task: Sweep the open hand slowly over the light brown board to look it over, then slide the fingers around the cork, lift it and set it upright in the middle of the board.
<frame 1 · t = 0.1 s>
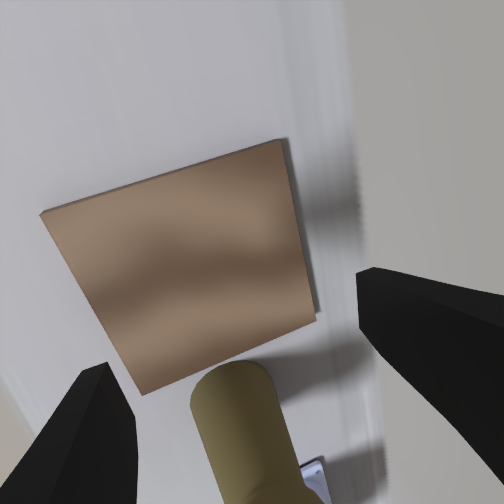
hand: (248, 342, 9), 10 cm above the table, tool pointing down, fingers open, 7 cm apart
light brown board: (203, 272, 19), on the table
cork: (231, 393, 23), on the table
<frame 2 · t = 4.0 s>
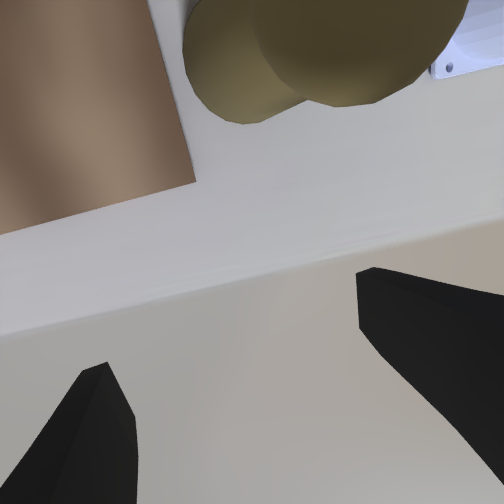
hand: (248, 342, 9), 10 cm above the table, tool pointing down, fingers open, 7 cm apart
light brown board: (14, 75, 13), on the table
cork: (243, 59, 16), on the table
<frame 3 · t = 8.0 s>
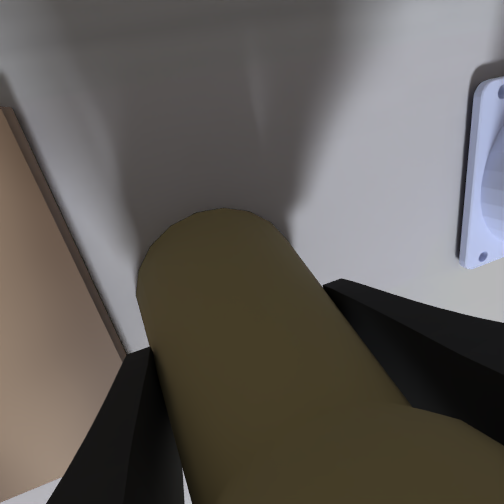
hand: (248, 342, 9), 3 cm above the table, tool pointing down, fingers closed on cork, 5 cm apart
cork: (220, 285, 12), on the table, touching gripper
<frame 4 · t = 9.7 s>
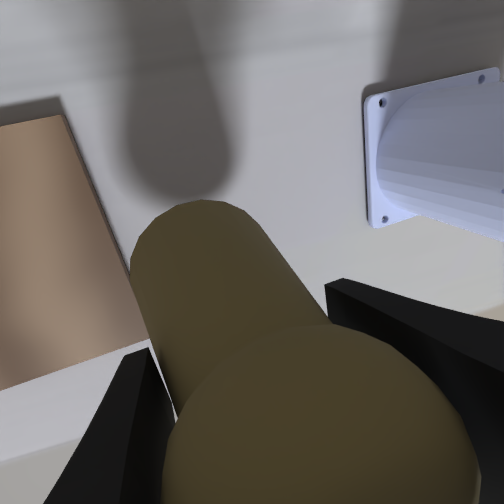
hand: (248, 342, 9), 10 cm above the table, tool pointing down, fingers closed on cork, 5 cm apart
cork: (204, 268, 14), point 5 cm above the table, touching gripper
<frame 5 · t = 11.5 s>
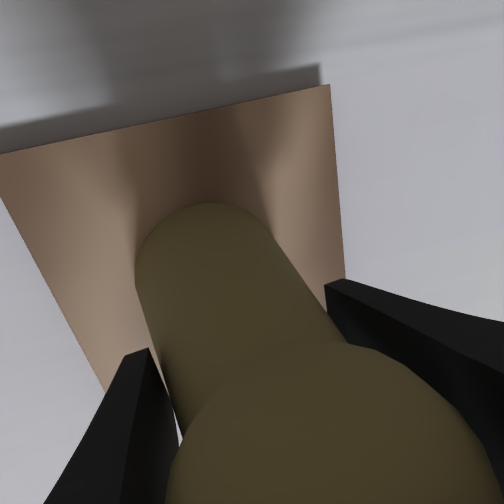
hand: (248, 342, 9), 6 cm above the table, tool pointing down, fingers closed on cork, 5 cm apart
light brown board: (211, 262, 14), on the table
cork: (210, 271, 14), point 1 cm above the table, touching gripper, light brown board
when the fingers open (5 cm above the table, at t = 12.2 s): cork stays where it is, resting on light brown board.
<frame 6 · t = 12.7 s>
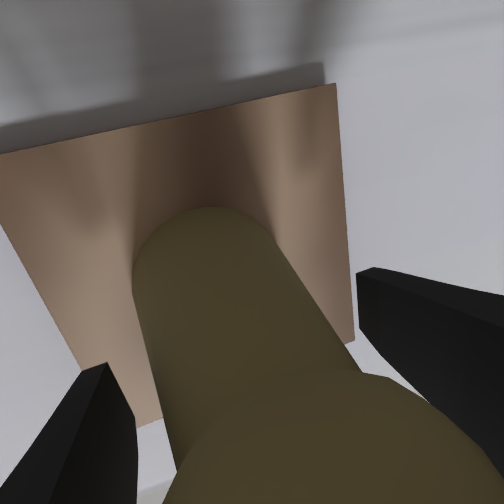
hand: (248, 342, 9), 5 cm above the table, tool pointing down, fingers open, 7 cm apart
light brown board: (212, 268, 14), on the table
cork: (210, 278, 13), point 1 cm above the table, touching light brown board
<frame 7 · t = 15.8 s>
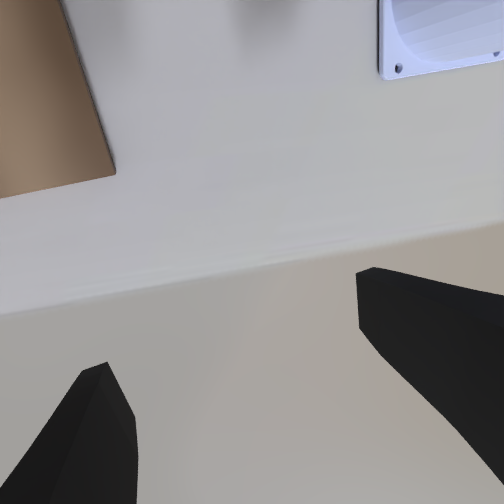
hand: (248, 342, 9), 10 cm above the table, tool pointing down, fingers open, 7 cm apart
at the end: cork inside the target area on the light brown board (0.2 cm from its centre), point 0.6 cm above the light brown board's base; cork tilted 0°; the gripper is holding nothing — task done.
